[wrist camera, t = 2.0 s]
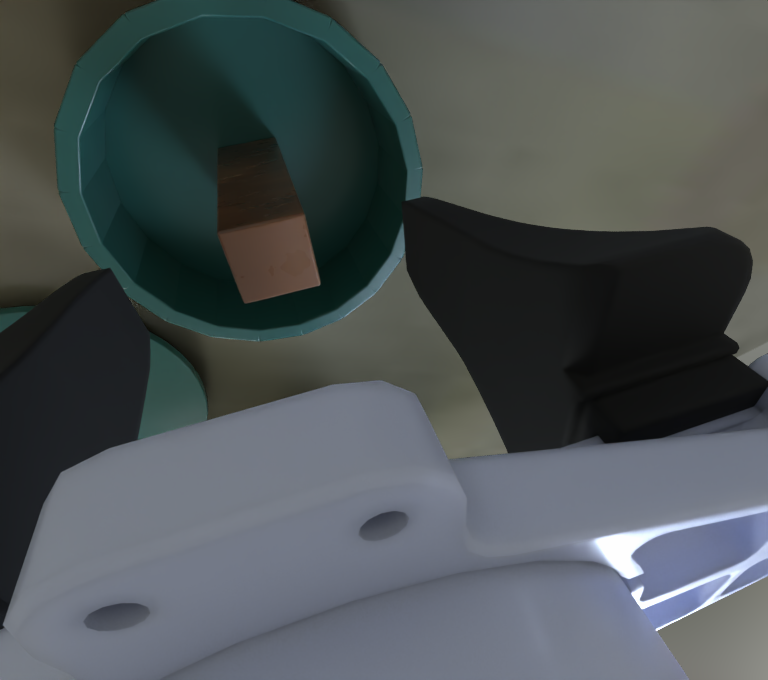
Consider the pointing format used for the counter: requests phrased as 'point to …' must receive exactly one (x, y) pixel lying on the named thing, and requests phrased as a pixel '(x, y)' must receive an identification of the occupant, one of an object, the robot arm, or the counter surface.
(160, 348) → the tin lid
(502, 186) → the counter surface
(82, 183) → the tin
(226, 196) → the stick
